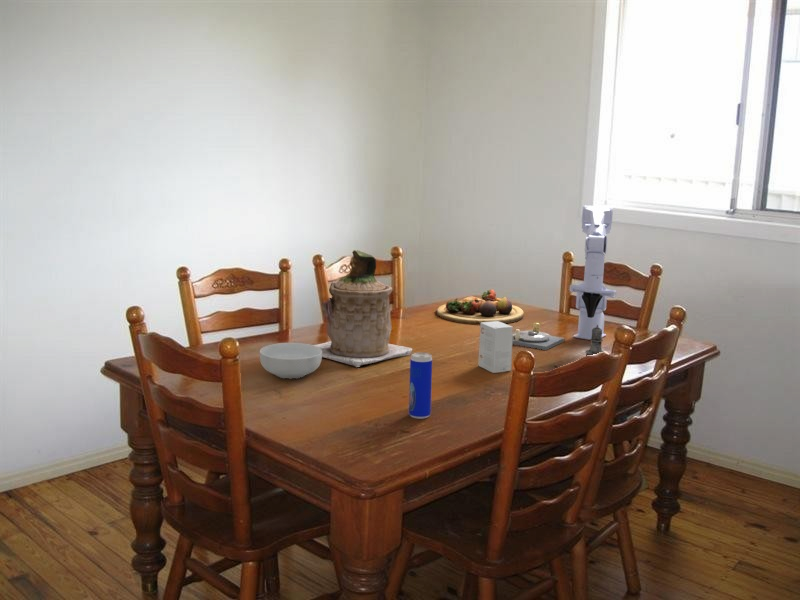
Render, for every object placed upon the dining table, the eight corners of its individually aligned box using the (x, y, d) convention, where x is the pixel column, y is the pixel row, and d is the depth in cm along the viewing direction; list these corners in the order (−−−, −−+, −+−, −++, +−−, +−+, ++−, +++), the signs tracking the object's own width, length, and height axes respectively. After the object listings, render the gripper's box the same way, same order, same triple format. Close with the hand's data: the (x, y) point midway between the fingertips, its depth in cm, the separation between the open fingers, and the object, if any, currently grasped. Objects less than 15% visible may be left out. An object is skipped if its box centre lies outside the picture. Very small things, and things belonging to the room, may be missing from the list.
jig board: (519, 333, 284) (520, 319, 283) (564, 341, 275) (565, 327, 274) (500, 342, 273) (500, 327, 272) (545, 350, 264) (546, 335, 263)
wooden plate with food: (466, 302, 334) (466, 282, 332) (539, 314, 315) (540, 292, 313) (419, 318, 308) (419, 295, 307) (495, 331, 290) (496, 307, 288)
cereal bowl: (271, 387, 221) (271, 360, 220) (251, 370, 236) (251, 345, 234) (331, 379, 229) (331, 354, 228) (308, 363, 243) (308, 339, 242)
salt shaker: (605, 367, 247) (608, 327, 244) (584, 366, 248) (587, 326, 246) (604, 362, 252) (607, 323, 250) (584, 360, 254) (587, 321, 251)
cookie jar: (415, 354, 256) (418, 249, 250) (357, 370, 239) (358, 257, 232) (358, 339, 273) (360, 240, 266) (300, 352, 255) (300, 247, 248)
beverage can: (407, 412, 205) (409, 352, 201) (429, 412, 205) (431, 352, 202) (409, 419, 200) (411, 357, 196) (431, 419, 200) (433, 358, 197)
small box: (511, 371, 241) (513, 326, 238) (492, 373, 238) (494, 328, 236) (496, 363, 248) (498, 320, 245) (477, 366, 245) (479, 322, 243)
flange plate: (507, 332, 280) (508, 321, 279) (547, 334, 279) (548, 322, 278) (510, 341, 269) (511, 328, 268) (551, 342, 268) (552, 330, 268)
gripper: (566, 273, 263) (563, 315, 265) (611, 278, 255) (608, 322, 257) (575, 270, 268) (572, 312, 271) (620, 275, 260) (616, 318, 263)
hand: (590, 317), depth 265 cm, fingers closed
